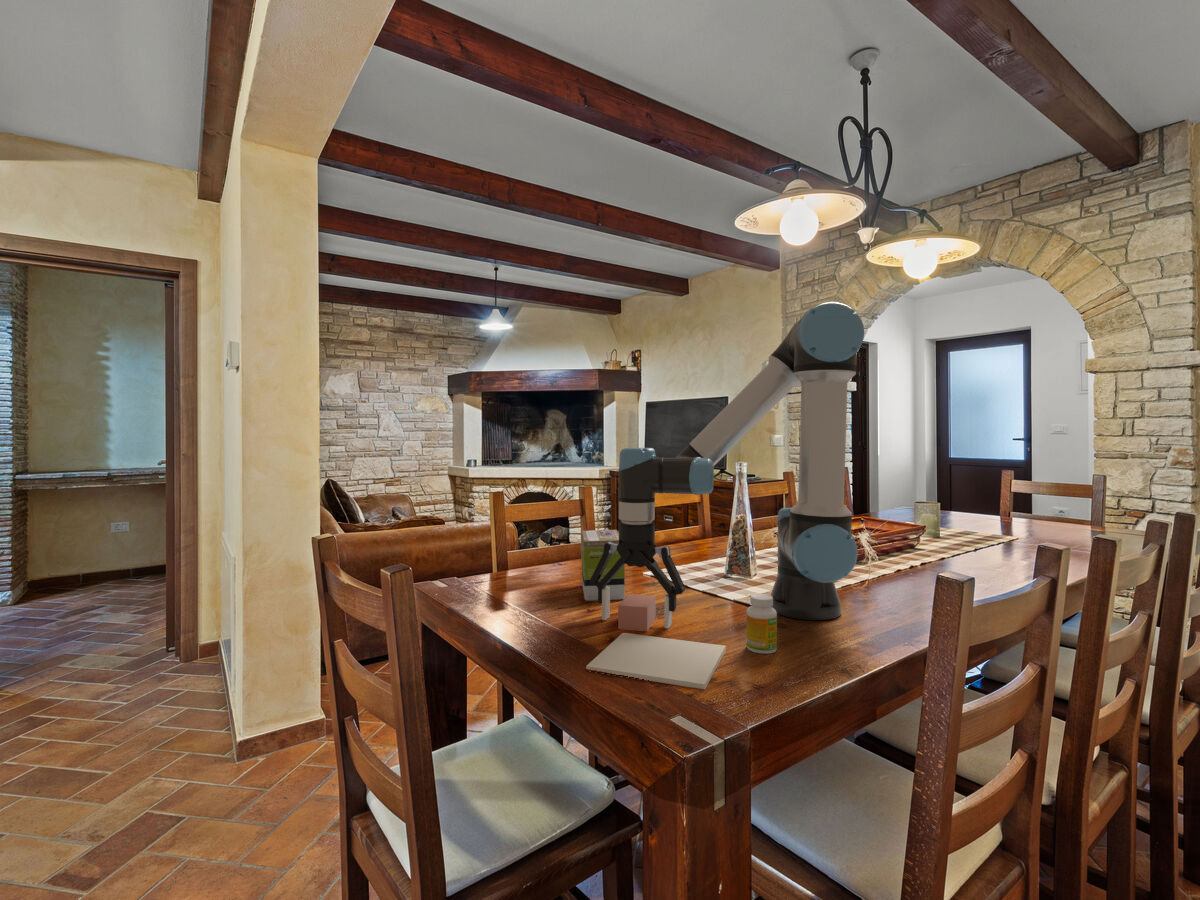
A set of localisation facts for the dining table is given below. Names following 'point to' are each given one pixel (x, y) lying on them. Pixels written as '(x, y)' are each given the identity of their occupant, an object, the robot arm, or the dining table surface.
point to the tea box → (590, 558)
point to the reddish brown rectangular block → (637, 612)
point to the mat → (660, 660)
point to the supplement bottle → (761, 625)
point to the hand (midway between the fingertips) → (636, 622)
